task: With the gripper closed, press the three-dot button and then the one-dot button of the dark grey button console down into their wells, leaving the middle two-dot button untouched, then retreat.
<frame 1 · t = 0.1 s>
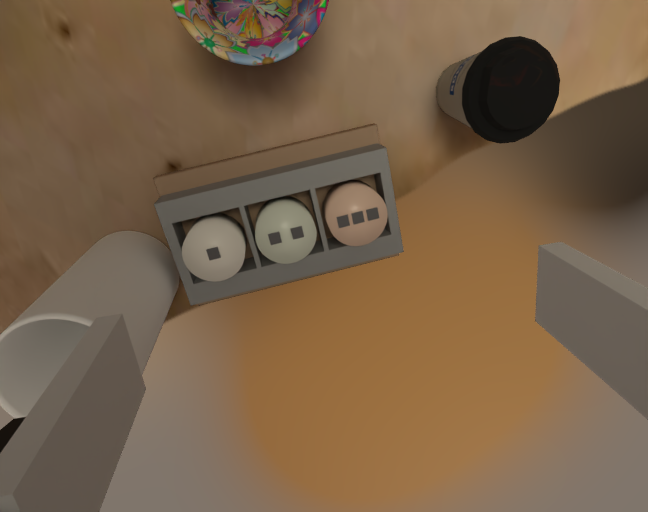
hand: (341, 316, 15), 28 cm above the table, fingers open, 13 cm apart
cup: (133, 273, 42), on the table
console: (283, 215, 42), on the table
button 2: (285, 229, 38), point 4 cm above the table, slide at 0.0 cm
button 3: (354, 212, 38), point 4 cm above the table, slide at 0.0 cm
coffee cup: (460, 89, 40), on the table
button 1: (215, 246, 38), point 4 cm above the table, slide at 0.0 cm
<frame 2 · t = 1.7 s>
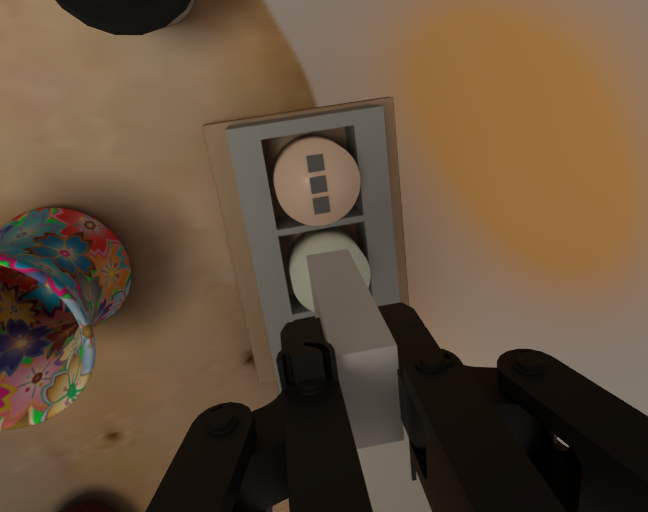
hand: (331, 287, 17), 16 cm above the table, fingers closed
cup: (364, 403, 39), on the table
console: (318, 247, 34), on the table
button 2: (327, 269, 30), point 4 cm above the table, slide at 0.0 cm
mug: (47, 259, 31), on the table
button 3: (314, 179, 28), point 4 cm above the table, slide at 0.0 cm
button 1: (338, 348, 32), point 4 cm above the table, slide at 0.0 cm
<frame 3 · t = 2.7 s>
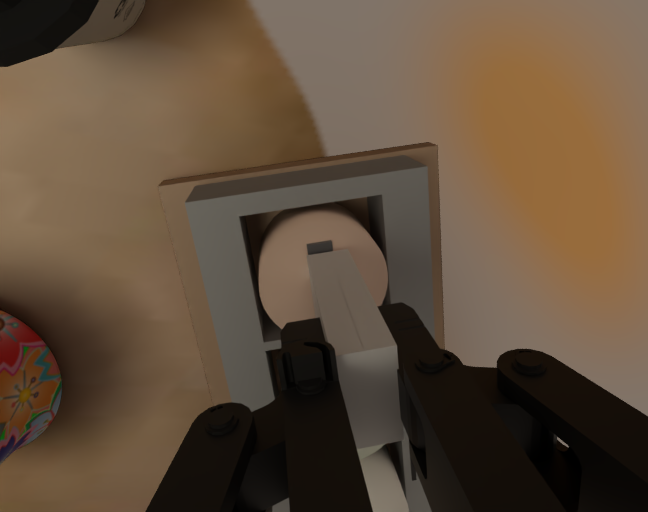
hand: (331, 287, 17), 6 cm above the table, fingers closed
console: (324, 343, 24), on the table
button 2: (337, 394, 20), point 4 cm above the table, slide at 0.0 cm
button 3: (319, 268, 19), point 4 cm above the table, slide at 0.4 cm, touching gripper
button 1: (350, 493, 22), point 4 cm above the table, slide at 0.0 cm
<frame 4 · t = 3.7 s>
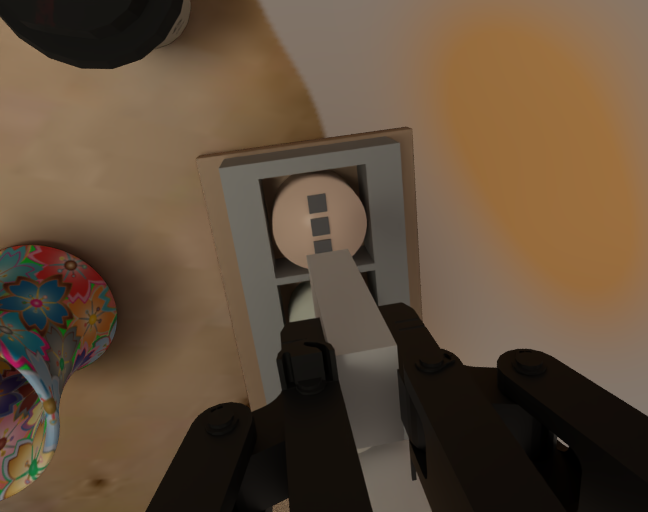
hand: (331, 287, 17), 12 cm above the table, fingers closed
cup: (371, 455, 36), on the table
console: (324, 290, 30), on the table
button 2: (332, 322, 26), point 4 cm above the table, slide at 0.0 cm
mug: (27, 297, 29), on the table
button 3: (317, 217, 25), point 3 cm above the table, slide at 1.1 cm
button 1: (343, 405, 28), point 4 cm above the table, slide at 0.0 cm
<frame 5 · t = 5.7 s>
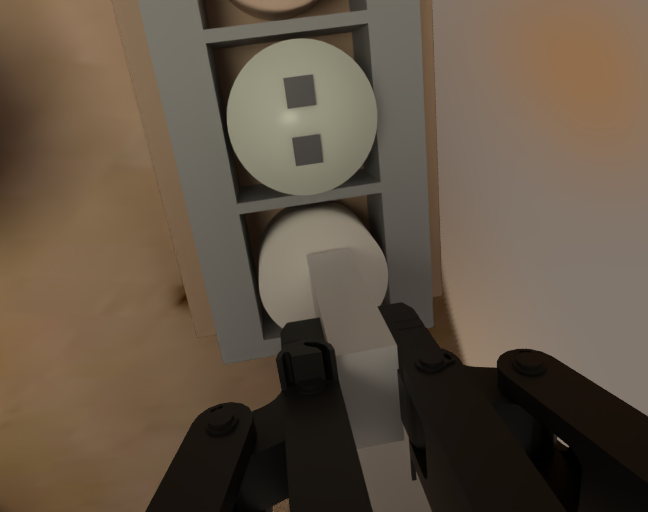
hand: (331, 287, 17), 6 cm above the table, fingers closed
cup: (364, 377, 26), on the table
console: (291, 110, 20), on the table
button 2: (299, 117, 16), point 4 cm above the table, slide at 0.0 cm
button 1: (319, 267, 19), point 4 cm above the table, slide at 0.3 cm, touching gripper
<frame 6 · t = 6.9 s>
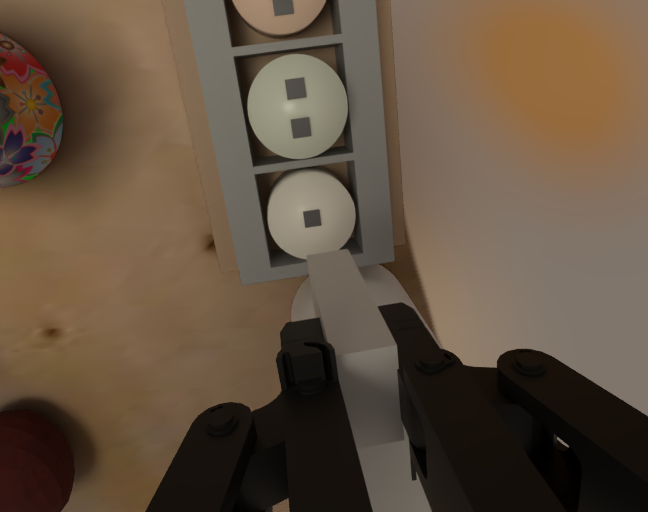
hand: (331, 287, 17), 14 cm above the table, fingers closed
cup: (348, 311, 33), on the table
console: (292, 103, 28), on the table
button 2: (296, 106, 24), point 4 cm above the table, slide at 0.0 cm
potato: (32, 438, 34), on the table
button 1: (309, 210, 27), point 3 cm above the table, slide at 1.1 cm
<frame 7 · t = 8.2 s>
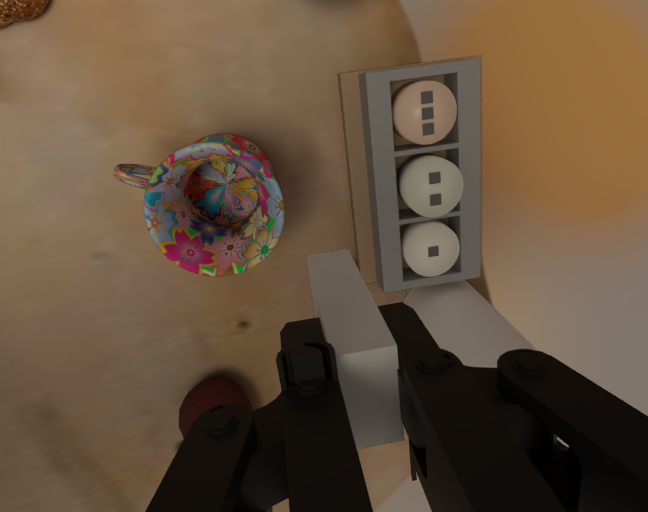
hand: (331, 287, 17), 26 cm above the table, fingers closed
cup: (438, 309, 49), on the table
console: (413, 175, 43), on the table
button 2: (428, 184, 39), point 4 cm above the table, slide at 0.0 cm
mug: (211, 176, 41), on the table
potato: (219, 398, 49), on the table
button 3: (421, 112, 38), point 3 cm above the table, slide at 1.1 cm
button 1: (427, 245, 42), point 3 cm above the table, slide at 1.1 cm
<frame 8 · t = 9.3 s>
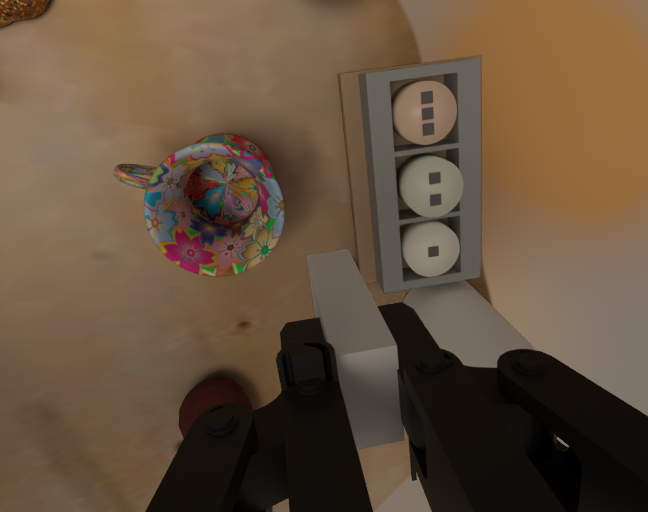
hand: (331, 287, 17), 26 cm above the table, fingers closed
cup: (438, 309, 49), on the table
console: (413, 175, 43), on the table
button 2: (428, 185, 39), point 4 cm above the table, slide at 0.0 cm
mug: (212, 176, 41), on the table
potato: (219, 398, 49), on the table
button 3: (421, 112, 38), point 3 cm above the table, slide at 1.1 cm
button 1: (427, 245, 42), point 3 cm above the table, slide at 1.1 cm
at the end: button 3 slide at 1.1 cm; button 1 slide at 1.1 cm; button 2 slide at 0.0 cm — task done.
